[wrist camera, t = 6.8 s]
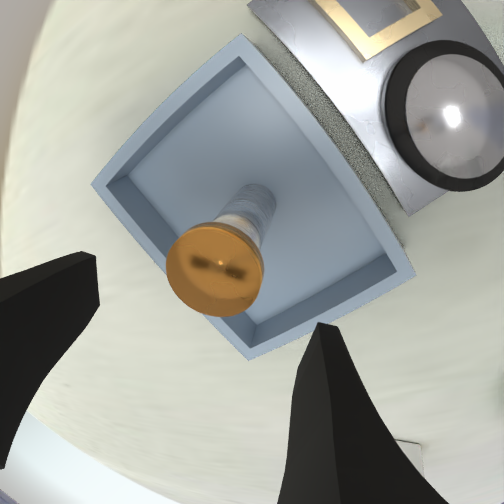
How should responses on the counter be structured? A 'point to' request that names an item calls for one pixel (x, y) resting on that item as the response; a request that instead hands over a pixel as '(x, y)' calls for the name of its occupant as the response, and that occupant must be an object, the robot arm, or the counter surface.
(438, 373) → the counter surface
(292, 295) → the tray
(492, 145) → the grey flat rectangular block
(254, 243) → the lock pin
